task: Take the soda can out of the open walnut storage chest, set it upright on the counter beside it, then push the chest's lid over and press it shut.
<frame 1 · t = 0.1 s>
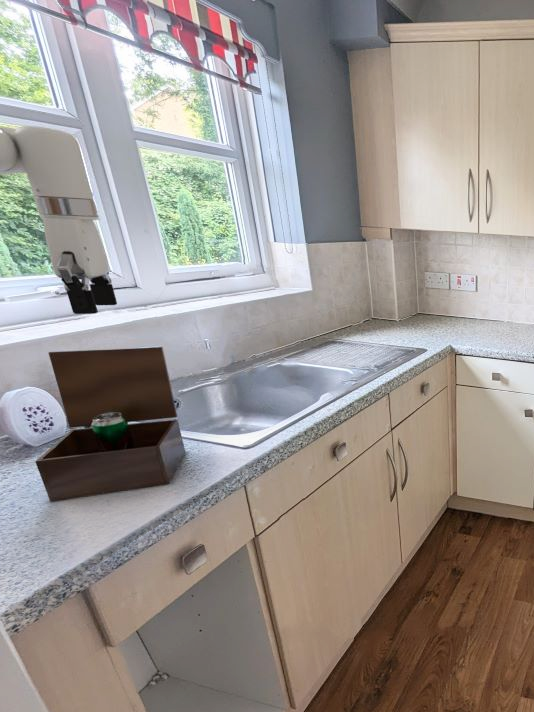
hand: (96, 309, 84), 32 cm above the table, tool pointing down, fingers open, 9 cm apart
chest: (125, 474, 90), on the table
lid: (117, 386, 91), point 16 cm above the table, hinge at 95.0°
soda can: (124, 472, 90), resting on chest
supplement container: (105, 430, 108), on the table
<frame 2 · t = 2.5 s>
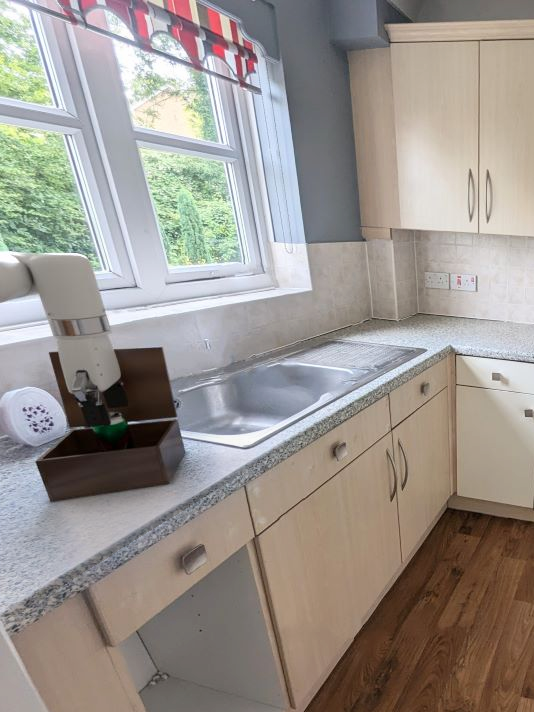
hand: (109, 415, 86), 13 cm above the table, tool pointing down, fingers open, 9 cm apart
lid: (117, 386, 91), point 16 cm above the table, hinge at 95.4°
everything else where it was.
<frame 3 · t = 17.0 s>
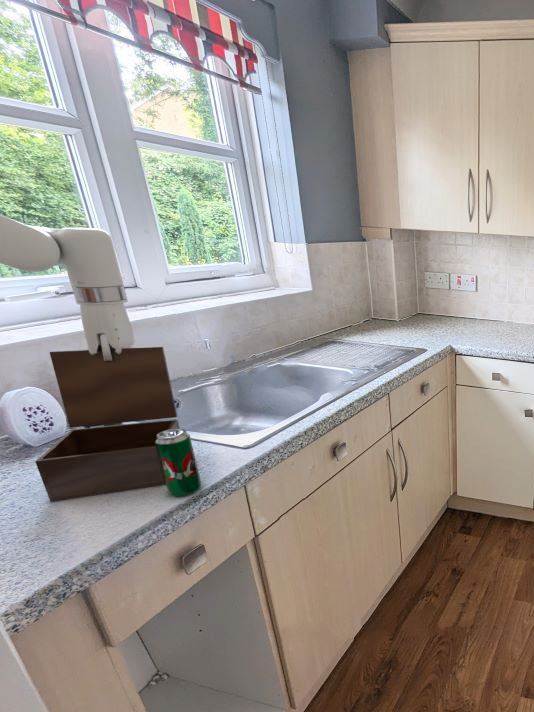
hand: (125, 383, 95), 15 cm above the table, tool pointing down, fingers closed
lid: (117, 386, 91), point 16 cm above the table, hinge at 96.4°, touching gripper
soda can: (186, 491, 86), on the table
everything else where it was.
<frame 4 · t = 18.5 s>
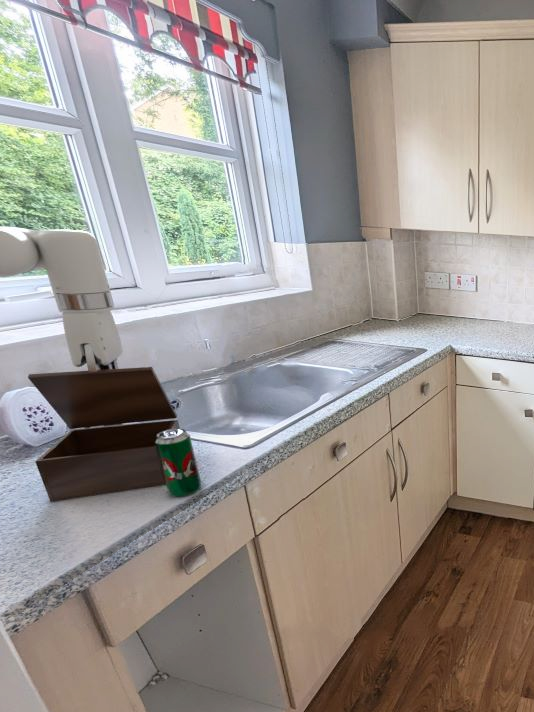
hand: (112, 396, 89), 15 cm above the table, tool pointing down, fingers closed
lid: (110, 398, 87), point 15 cm above the table, hinge at 59.5°, touching gripper
everything else where it was.
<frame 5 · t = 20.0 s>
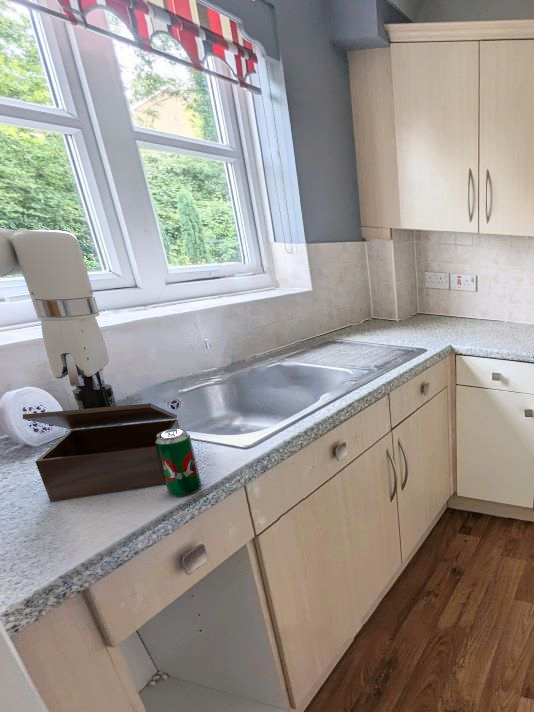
hand: (98, 409, 82), 15 cm above the table, tool pointing down, fingers closed
lid: (109, 416, 86), point 12 cm above the table, hinge at 29.6°, touching gripper
everything else where it was.
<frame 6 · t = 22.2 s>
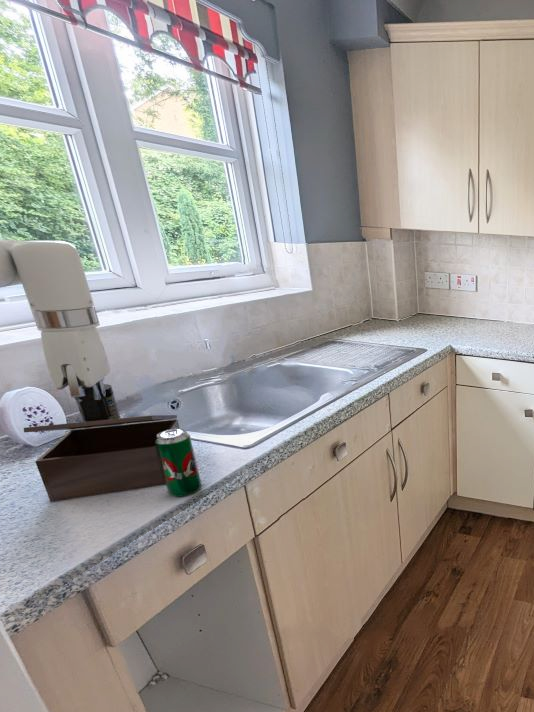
hand: (99, 419, 82), 14 cm above the table, tool pointing down, fingers closed
lid: (109, 422, 86), point 11 cm above the table, hinge at 20.9°, touching gripper
everything else where it was.
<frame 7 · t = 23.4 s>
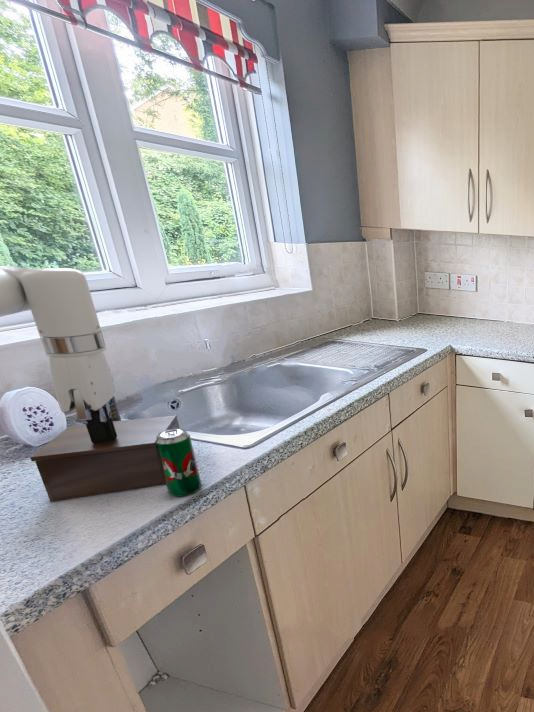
hand: (105, 440, 83), 9 cm above the table, tool pointing down, fingers closed
lid: (112, 435, 87), point 9 cm above the table, hinge at 1.4°, touching gripper
everything else where it was.
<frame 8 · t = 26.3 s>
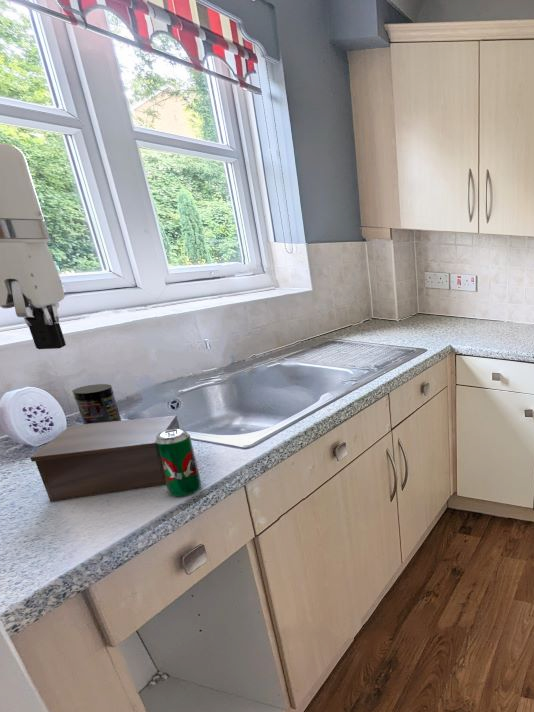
hand: (51, 347, 76), 27 cm above the table, tool pointing down, fingers closed
lid: (112, 435, 87), point 9 cm above the table, hinge at 1.2°
everything else where it was.
at the end: soda can inside the target area (0.0 cm from its centre), on the table; soda can tilted 0°; lid at +1° (first picture: +95°) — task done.
